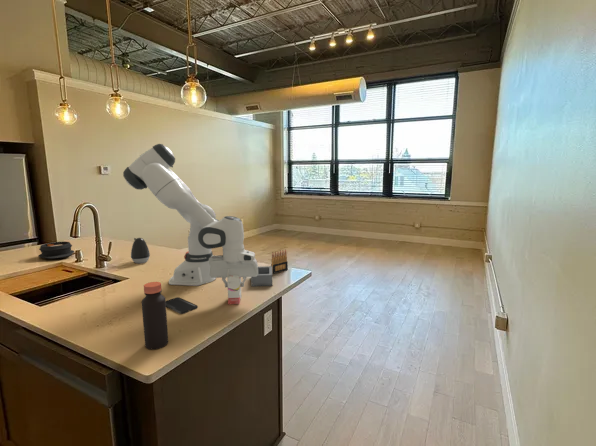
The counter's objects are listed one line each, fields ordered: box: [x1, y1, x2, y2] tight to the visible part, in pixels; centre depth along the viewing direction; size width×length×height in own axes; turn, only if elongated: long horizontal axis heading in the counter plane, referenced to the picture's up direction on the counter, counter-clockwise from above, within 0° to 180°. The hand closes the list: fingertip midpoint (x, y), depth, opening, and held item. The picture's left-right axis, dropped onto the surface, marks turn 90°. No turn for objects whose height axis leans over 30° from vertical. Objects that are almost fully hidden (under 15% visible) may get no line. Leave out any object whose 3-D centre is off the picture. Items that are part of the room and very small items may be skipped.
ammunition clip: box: [270, 249, 289, 275], centre depth 172 cm, size 11×2×12 cm, turn 132°
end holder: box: [250, 265, 273, 287], centre depth 157 cm, size 10×14×6 cm
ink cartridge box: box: [226, 269, 242, 305], centre depth 133 cm, size 9×5×15 cm, turn 5°
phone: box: [166, 296, 198, 315], centre depth 128 cm, size 8×1×15 cm
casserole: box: [38, 241, 75, 260], centre depth 202 cm, size 25×19×8 cm
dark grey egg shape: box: [130, 237, 151, 264], centre depth 189 cm, size 10×10×15 cm
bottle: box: [141, 281, 169, 350], centre depth 98 cm, size 7×7×20 cm
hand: (234, 286), depth 133 cm, fingers closed on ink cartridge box, 5 cm apart
